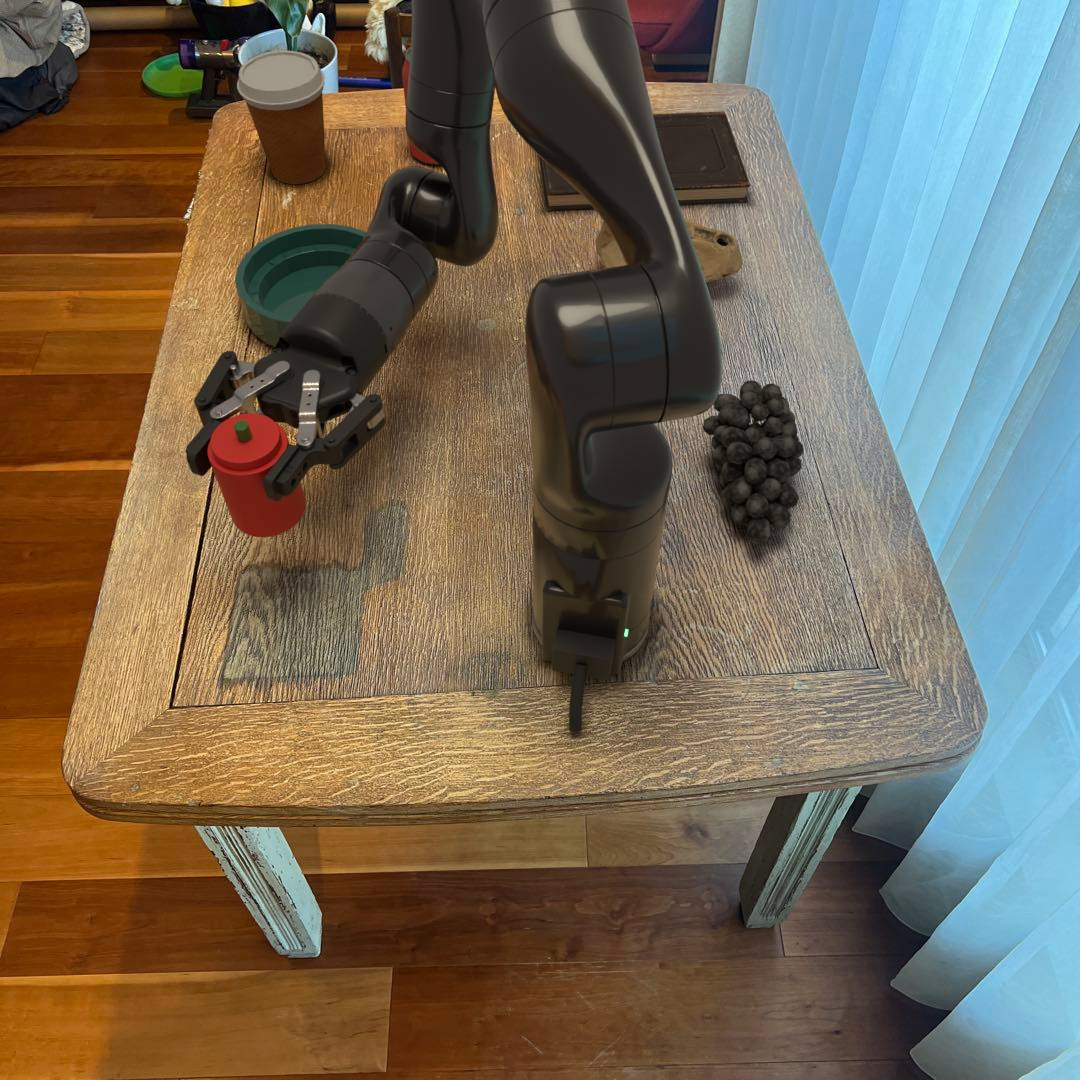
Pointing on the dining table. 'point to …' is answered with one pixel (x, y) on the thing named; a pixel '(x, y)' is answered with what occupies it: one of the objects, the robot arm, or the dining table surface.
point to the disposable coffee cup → (287, 112)
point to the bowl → (290, 273)
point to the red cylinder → (253, 474)
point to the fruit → (756, 457)
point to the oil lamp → (710, 246)
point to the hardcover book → (678, 163)
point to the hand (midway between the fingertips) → (232, 479)
